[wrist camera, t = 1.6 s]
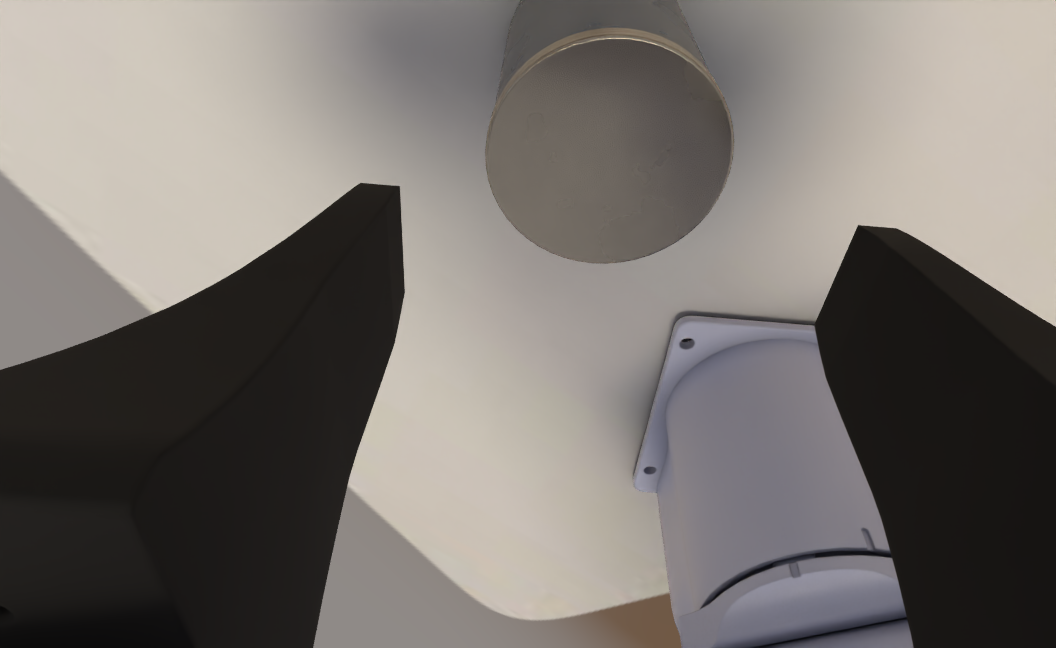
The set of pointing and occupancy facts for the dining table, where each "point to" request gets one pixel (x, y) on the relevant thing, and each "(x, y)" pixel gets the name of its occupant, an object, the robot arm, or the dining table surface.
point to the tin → (606, 129)
